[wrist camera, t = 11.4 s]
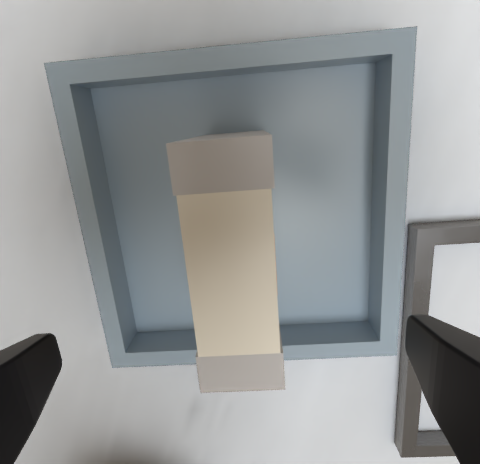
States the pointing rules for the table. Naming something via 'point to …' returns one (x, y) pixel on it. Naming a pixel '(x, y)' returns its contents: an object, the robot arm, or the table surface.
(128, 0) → the table surface
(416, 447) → the holder frame
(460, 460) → the robot arm
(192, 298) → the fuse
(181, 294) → the tray
